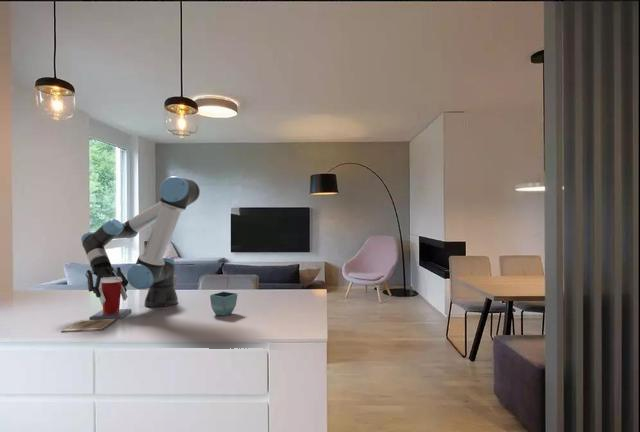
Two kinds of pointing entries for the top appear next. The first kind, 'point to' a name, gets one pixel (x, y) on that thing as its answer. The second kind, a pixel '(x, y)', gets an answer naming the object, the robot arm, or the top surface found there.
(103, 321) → the wooden square board
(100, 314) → the pad
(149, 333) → the top surface
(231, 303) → the flower pot
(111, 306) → the coffee cup
